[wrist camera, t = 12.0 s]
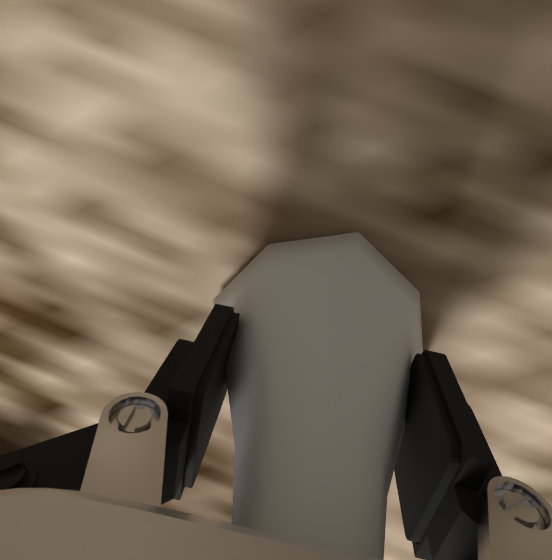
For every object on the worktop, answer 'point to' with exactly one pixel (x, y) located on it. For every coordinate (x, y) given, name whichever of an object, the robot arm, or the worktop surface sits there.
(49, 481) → the robot arm
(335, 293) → the flask
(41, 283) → the worktop surface
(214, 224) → the worktop surface
